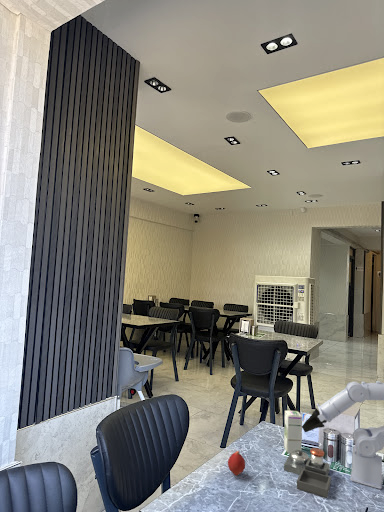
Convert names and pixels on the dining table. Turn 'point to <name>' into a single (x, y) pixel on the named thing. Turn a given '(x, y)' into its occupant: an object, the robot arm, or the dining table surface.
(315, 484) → the tray
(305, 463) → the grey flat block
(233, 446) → the dining table surface
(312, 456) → the pin
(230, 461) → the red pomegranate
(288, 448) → the syrup box
